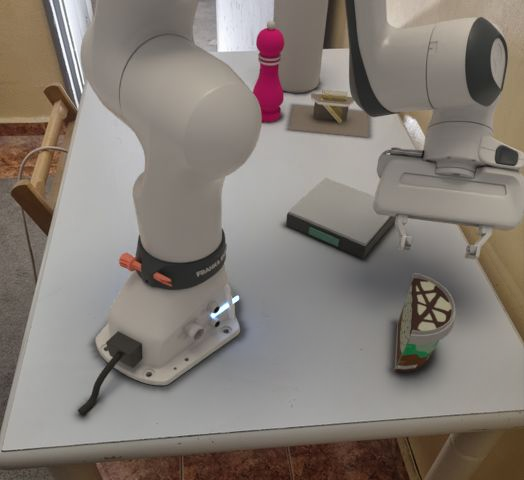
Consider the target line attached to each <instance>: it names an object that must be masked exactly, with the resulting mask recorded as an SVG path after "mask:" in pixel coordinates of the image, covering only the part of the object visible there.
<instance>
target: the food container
mask: <svg viewBox="0 0 524 480" xmlns="http://www.w3.org/2000/svg"><path fill="white" fill-rule="evenodd" d="M409 282H410V283H409V286H408V290H407V292H406V295H405V298H404V301H403V305H402V308H401V311H400V313H399V317H398V320H397V323H396V335H395V336H396V338H395V339H396V341H395V342H396V343H395V358H394V372H399V373H407V372H414V371H416V370H418V369H421V368H422V367H423V366H424V365H426V363H427V362H428V360H429V359H430V357H431V355H432V354H433V352H434V350H435V349H436V347H437V346H438V344H439V342H440V341H441V340H443V339H445V338H446V337H447V336H448V335H449V334H450V333H451V331H452V330H453V327H454V325H455V319H456V306H455V301H454V297H452V295H451V293H450V291H448V289H447V288H446V287H445V286H444V285H443V284H441V283H440V282H438V281H437V280H435V279H433V278H432V277H430V276H426V275H423V274H421V273H416V272H413V274H412V276H411V277H410V281H409Z"/></svg>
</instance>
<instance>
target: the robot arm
mask: <svg viewBox="0 0 524 480" xmlns="http://www.w3.org/2000/svg"><path fill="white" fill-rule="evenodd" d="M199 1H200V0H95V8H94V14H93V21H92V22H91V23H90V24H89V26H88V27H87V29H86V30H85V33H84V35H83V38H82V41H81V44H80V53H79V54H80V55H79V56H80V65H81V69H82V72H83V75H84V77H85V78H86V81H87V82H88V84H89V86H90V88H91V89H92V91H93V93H94V94H95V96H96V97H97V98H98V99H99V101H100V103H101V104H102V106H103V107H104V108H105V109H106V110H108V112H110V113H111V114H113V115H114V116H115V117H116V118H117V119H118V120H120V121H121V122H122V124H124V125H125V126H126V127H128V128H129V129H130V131H132V133H134V135H135V136H136V138H137V140H138V142H139V144H140V147H141V148H142V151H143V156H144V169H143V170H144V171H142V172H141V173H140V174H139V175H138V176H137V177H136V179H135V181H134V183H133V186H132V193H131V194H132V199H133V206H134V212H135V216H136V222H137V228H138V233H139V234H138V239H137V243H136V250H135V256H133V255H132V254H131V253H128V252H124V253H122V254H121V255H120V257H119V260H118V264H119V266H120V267H122V268H124V269H127V270H128V272H129V271H130V274H129V275H128V277H127V279H126V280H125V281H124V284H123V286H122V288H121V289H120V291H119V292H118V294H117V296H116V297H115V299H114V301H113V302H112V304H111V306H110V307H109V310H108V313H107V314H108V315H107V323H106V324H105V326H104V327H103V328H102V329H101V330H100V332H99V333H98V334H97V335H96V336H95V340H94V341H95V345H96V349H97V351H98V353H99V355H100V356H101V358H102V359H104V361H105V362H107V364H106V365H105V366H104V367H103V369H102V370H101V372H100V373H99V375H98V376H97V378H96V380H95V381H94V384H93V387H92V391H91V394H90V396H89V398H88V400H87V401H86V402H85V403H84V404H83V405H81V407H79V408H78V409H77V412H78V413H80V415H82V416H84V414H85V413H86V412H88V411H89V410H90V409H91V408H92V407H93V406H94V405H95V404H96V402H97V400H98V398H99V394H100V390H101V387H102V385H103V383H104V381H106V378H107V377H108V375H109V374H110V373H111V371H112V370H113V369H115V370H117V371H118V372H120V373H122V374H124V375H125V376H127V377H129V378H131V379H133V380H135V381H137V382H140V383H143V384H146V385H152V386H167V385H169V384H171V383H172V382H174V381H175V380H177V379H178V378H179V377H181V376H182V375H184V374H185V373H187V372H188V371H189V370H191V369H192V368H194V367H195V366H196V365H198V364H199V363H200V362H202V361H204V360H205V359H206V358H208V357H209V356H210V355H212V354H213V353H215V352H216V351H218V350H219V349H221V348H222V347H223V346H225V345H226V344H227V343H229V342H231V340H233V339H234V338H236V337H238V335H239V334H240V332H241V327H240V322H239V320H238V319H237V317H236V304H235V303H236V302H238V301H239V300H240V296H239V295H236V296H233V294H232V288H231V283H230V280H229V276H228V272H227V269H226V264H225V263H226V260H227V242H226V234H225V230H224V228H223V216H222V215H223V214H222V213H223V211H222V210H223V209H222V208H223V207H222V206H223V204H222V202H223V199H222V198H223V197H222V196H223V188H224V183H225V180H226V177H227V176H230V175H232V174H233V173H235V172H237V170H239V169H241V167H242V166H243V165H244V164H245V163H246V162H247V161H248V160H249V159H250V158H251V156H252V154H253V153H254V151H255V149H256V147H257V145H258V142H259V140H260V139H259V138H260V137H261V130H262V123H263V121H262V115H261V108H260V105H259V102H258V100H257V98H256V96H255V95H254V93H253V90H252V89H250V87H249V86H248V84H247V83H246V82H245V81H244V80H243V79H242V78H241V77H240V75H238V74H237V72H236V71H235V70H234V69H233V68H232V67H231V66H230V65H229V64H227V62H225V61H223V60H222V59H220V58H219V57H216V56H215V55H213V54H212V53H211V52H208V51H207V50H205V49H204V48H202V47H200V46H199V45H197V44H196V42H195V39H194V22H195V16H196V13H197V8H198V6H199ZM344 6H345V7H344V8H345V17H346V25H347V26H346V27H347V28H346V29H347V37H348V38H347V39H348V52H349V53H348V84H349V93H350V95H351V96H350V97H352V98H353V100H354V103H355V104H356V105H357V106H358V107H359V108H360V109H361V110H362V112H366V113H367V114H368V116H369V117H372V118H379V117H384V116H389V115H396V114H400V113H408V112H422V111H432V114H431V116H430V117H431V118H430V120H429V123H428V124H427V127H426V131H425V138H424V144H423V149H422V150H421V149H413V148H410V149H409V148H407V149H406V148H401V147H395V146H393V147H391V148H390V149H386V150H384V151H383V152H382V153H381V154H380V155H379V157H378V159H377V164H376V165H377V166H376V174H377V177H378V178H379V180H378V183H377V185H376V190H375V194H374V201H373V209H374V211H375V212H376V214H379V215H386V216H394V217H396V219H395V222H394V227H395V229H396V232H397V234H398V237H399V242H398V250H400V251H401V250H402V251H411V248H412V243H413V238H414V237H413V236H408V235H407V232H406V229H405V225H406V224H407V223H408V219H410V220H418V221H427V222H432V223H433V222H434V223H441V224H450V225H457V226H465V227H472V228H477V232H476V234H477V236H480V237H479V238H478V239H477V240H476V241H475V243H474V244H469V245H467V246H466V249H465V252H466V253H465V254H464V258H465V259H469V260H479V259H480V256H481V255H480V254H481V250H482V247H483V246H484V244H485V243H486V242H487V241H488V240H489V239H490V238H491V236H492V235H493V231H503V232H509V231H513V230H515V229H516V228H517V227H518V226H520V225H521V224H522V223H523V220H524V174H522V173H521V172H520V171H522V169H524V152H523V151H521V150H519V149H517V148H514V147H512V146H511V145H508V144H506V143H504V142H502V141H500V140H498V139H496V138H495V137H494V133H495V132H494V131H495V128H494V127H495V125H494V115H495V113H496V109H497V107H498V106H499V103H500V99H501V94H502V92H503V89H504V85H505V79H506V74H507V68H508V63H509V61H508V60H509V52H508V51H509V50H508V45H507V42H506V38H505V34H504V31H503V29H502V28H501V27H500V26H499V25H497V24H496V23H494V22H493V21H492V22H491V21H489V20H488V19H486V18H485V17H483V16H478V17H477V16H476V17H475V16H473V17H472V16H471V17H463V18H462V17H461V18H456V19H450V20H444V21H438V22H436V23H429V24H424V25H416V26H411V27H403V28H400V27H395V26H393V25H391V24H390V23H389V22H388V20H387V19H388V15H387V0H344Z"/></svg>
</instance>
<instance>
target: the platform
mask: <svg viewBox="0 0 524 480" xmlns="http://www.w3.org/2000/svg"><path fill="white" fill-rule="evenodd" d="M310 100H312V101H313V102H314V104H313V105H314V106H304V105H293V107H292V112H291V118H290V123H289V128H288V130H290V131H299V132H300V131H301V132H309V133H310V132H311V133H320V134H328V135H329V134H331V135H341V136H351V137H360V138H368V137H369V124H368V123H369V117H368V116H369V115H368V114H367V113H366V112H364V111H358V110H349V107H351V105H353V104H354V103H355V101H354V100H353V98H352V96H348V92H344V93H343V91H342V90H334V91H333V90H331V89H322V90H321V93H311V94H310Z"/></svg>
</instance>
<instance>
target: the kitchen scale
mask: <svg viewBox="0 0 524 480" xmlns="http://www.w3.org/2000/svg"><path fill="white" fill-rule="evenodd" d="M374 197H375V195H372V194H370V193H366V192H364V191H362V190H359V189H356V188H354V187H351V186H348V185H346V184H344V183H340V182H338V181H336V180H333V179H330V178H327V177H324V178H323V179H322V180H321V181H320V182H319V183H318V184H316V186H315V187H313V188H312V189H311V190H310V191H309V192H308V193H307V194H306V195H305V196H303V198H301V199H300V200H299V201H298V202H297V203H296V204H295V205H294V206H293V207H291V208H290V209H289V211H288V212H287V213H286V221H285V222H286V223H285V226H286V227H288V228H290V229H293V230H295V231H297V232H299V233H302V234H304V235H306V236H309V237H311V238H314V239H316V240H318V241H320V242H322V243H325V244H327V245H330V246H332V247H334V248H336V249H339V250H341V251H343V252H346V253H348V254H350V255H352V256H355V257H357V258H360V259H362V260H364V259H365V258H366V256H367V255H368V254H369V253H370V252H371V250H373V248H374V247H375V246H376V244H377V243H378V242H379V241H380V240H381V239H382V238H383V236H384V235H385V234H386V233H387V231H388V230H390V228H391V227H392V226H393V224H395V219H396V217H394V216H386V215H379V214H376V212H375V211H374V209H373V201H374Z"/></svg>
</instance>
